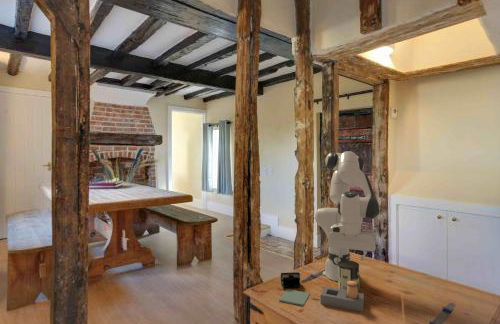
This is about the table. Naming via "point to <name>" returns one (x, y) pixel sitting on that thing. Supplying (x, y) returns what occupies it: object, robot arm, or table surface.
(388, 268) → the table surface
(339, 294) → the grey holed block
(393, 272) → the table surface
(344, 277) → the coffee can
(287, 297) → the mat
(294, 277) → the end cap
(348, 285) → the plug
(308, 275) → the table surface
